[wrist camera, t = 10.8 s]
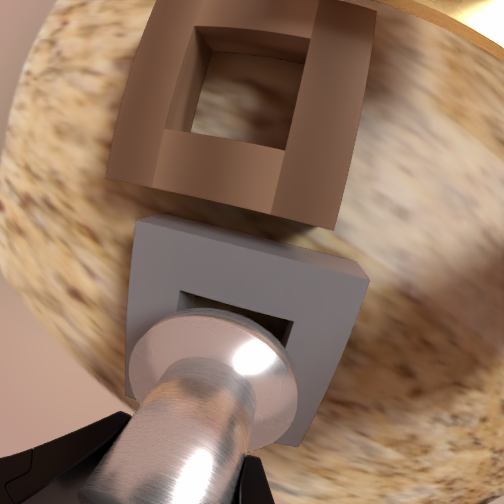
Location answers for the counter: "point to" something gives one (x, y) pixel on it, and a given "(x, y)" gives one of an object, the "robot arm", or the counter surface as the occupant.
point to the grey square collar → (248, 295)
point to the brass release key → (462, 19)
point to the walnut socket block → (237, 152)
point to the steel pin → (196, 411)
